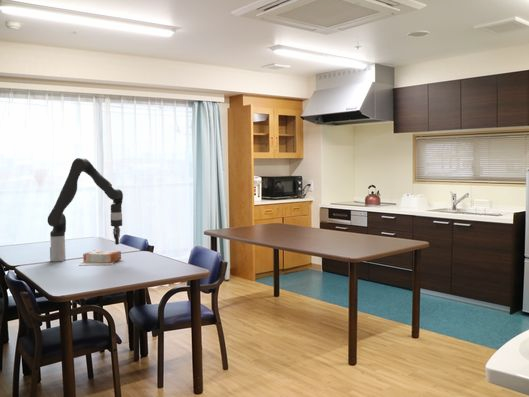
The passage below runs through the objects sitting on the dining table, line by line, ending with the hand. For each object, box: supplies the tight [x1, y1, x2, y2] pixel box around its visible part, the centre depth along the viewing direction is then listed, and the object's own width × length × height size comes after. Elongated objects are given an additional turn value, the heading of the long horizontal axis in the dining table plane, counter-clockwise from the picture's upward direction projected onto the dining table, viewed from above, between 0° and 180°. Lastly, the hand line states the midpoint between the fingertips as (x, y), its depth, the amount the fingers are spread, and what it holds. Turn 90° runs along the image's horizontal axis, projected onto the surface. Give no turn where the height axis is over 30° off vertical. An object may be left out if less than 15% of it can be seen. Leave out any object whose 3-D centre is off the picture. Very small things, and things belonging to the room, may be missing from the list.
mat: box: [78, 261, 116, 267], centre depth 332 cm, size 21×18×1 cm
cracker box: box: [82, 250, 122, 263], centre depth 336 cm, size 14×6×21 cm
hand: (117, 244), depth 333 cm, fingers closed
